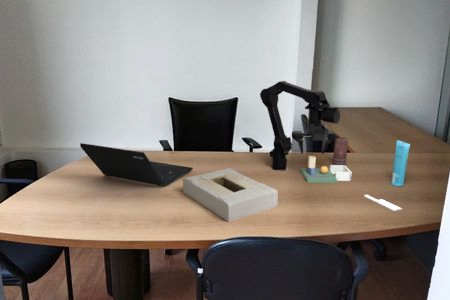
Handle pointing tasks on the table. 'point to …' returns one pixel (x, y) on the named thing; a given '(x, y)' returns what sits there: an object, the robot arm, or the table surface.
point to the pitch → (318, 176)
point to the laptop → (133, 165)
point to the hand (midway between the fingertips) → (312, 154)
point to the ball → (323, 169)
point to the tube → (400, 163)
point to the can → (340, 151)
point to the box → (230, 193)
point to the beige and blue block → (311, 164)
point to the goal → (341, 172)
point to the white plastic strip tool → (384, 203)
